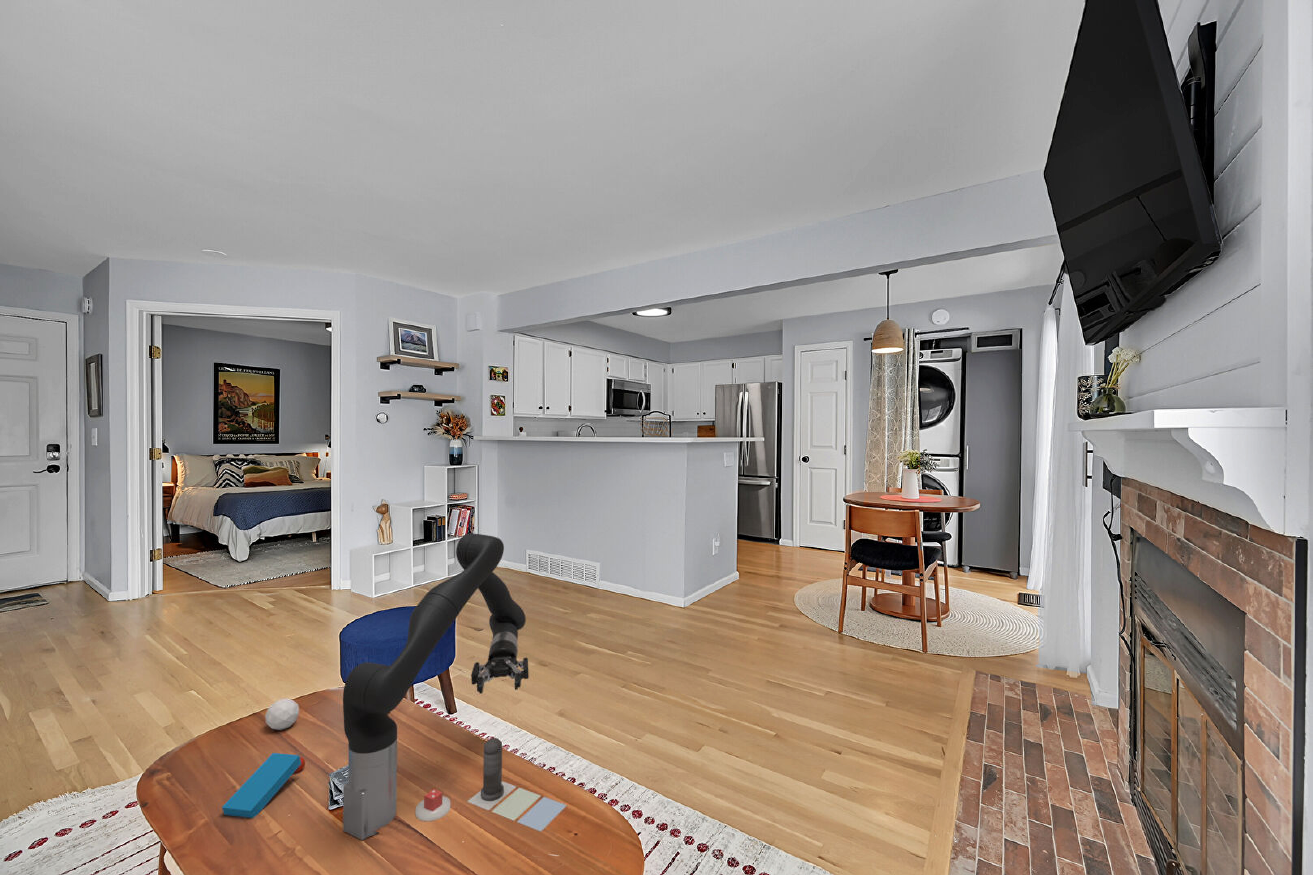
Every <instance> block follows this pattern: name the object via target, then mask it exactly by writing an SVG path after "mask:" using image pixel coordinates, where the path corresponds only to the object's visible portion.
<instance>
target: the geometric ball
mask: <svg viewBox="0 0 1313 875" xmlns="http://www.w3.org/2000/svg"><path fill="white" fill-rule="evenodd" d="M299 714H300V707H299V704H298V703H297V702H296V701H294V699H289V698H282V699H279V700H276V701H274V703H272V704H271V705H270V706H268V709H267V711H266V714H265V715H264V716H265V724H266V725H268V727H269V728H271V729H272V730H277V731H282V730H286V729H288V728H291V726H293V724H294V723H295V722H297V719H298V717H299Z"/></svg>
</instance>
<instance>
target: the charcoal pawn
mask: <svg viewBox="0 0 1313 875" xmlns="http://www.w3.org/2000/svg"><path fill="white" fill-rule="evenodd" d="M502 765H503V743H502V741H501V739H499V738H498V737H491V738H489V739H488V740H487V741H485V743H484V744H483V773H482V775H483V778H482V780H483V781H482V786H483V787H482V788H481V789H480V791H481V798H482V799H483V800H485V801H494V800H497V799H499V798H501V797H502V796H503V794H504V786H503V785H502V780H503V766H502Z"/></svg>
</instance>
